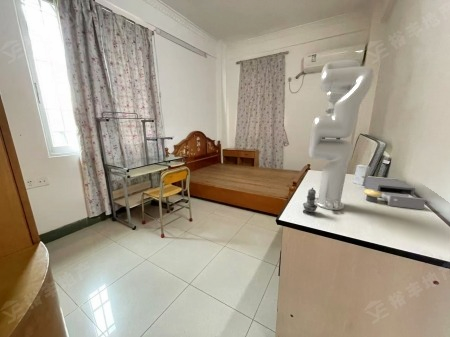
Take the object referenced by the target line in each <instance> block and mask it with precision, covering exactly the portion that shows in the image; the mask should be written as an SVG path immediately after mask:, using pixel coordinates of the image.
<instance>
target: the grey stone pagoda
mask: <svg viewBox="0 0 450 337" xmlns="http://www.w3.org/2000/svg"><path fill="white" fill-rule="evenodd" d="M307 191H308V193H307V196H306V198H307V199H306V202H304V203H303V204H302V206H303V210H302V213H303V214H304V215H307V216H312V217H313V216H316V212H315V211H316V210H317V209H318V205H316V204H315V199H316V198H317V197H316V190H315V189H314V187H311V188H310V189H308V190H307Z"/></svg>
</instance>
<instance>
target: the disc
mask: <svg viewBox="0 0 450 337" xmlns="http://www.w3.org/2000/svg"><path fill="white" fill-rule="evenodd" d="M363 192H364V195H366V196H367V195H369V196H372V197H381V196H382V192H380V191H378V190H373V189H366V188H365V189H364V191H363Z"/></svg>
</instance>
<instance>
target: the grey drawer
mask: <svg viewBox="0 0 450 337" xmlns="http://www.w3.org/2000/svg"><path fill="white" fill-rule="evenodd" d="M380 192H382V196H381V197H382V198H381V199H383V200H384V201H386V202H387V206H389V207H390V206H391V207H397V208H398V207H399V208H405V209H406V208H407V209H416V210H424V208H425V205H426V202H427V198H424V197H423V198H421V197H414V195H413V196H411V195H409V194H408V193H406V192H404V191H402V193H394V192H384V191H380Z"/></svg>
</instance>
